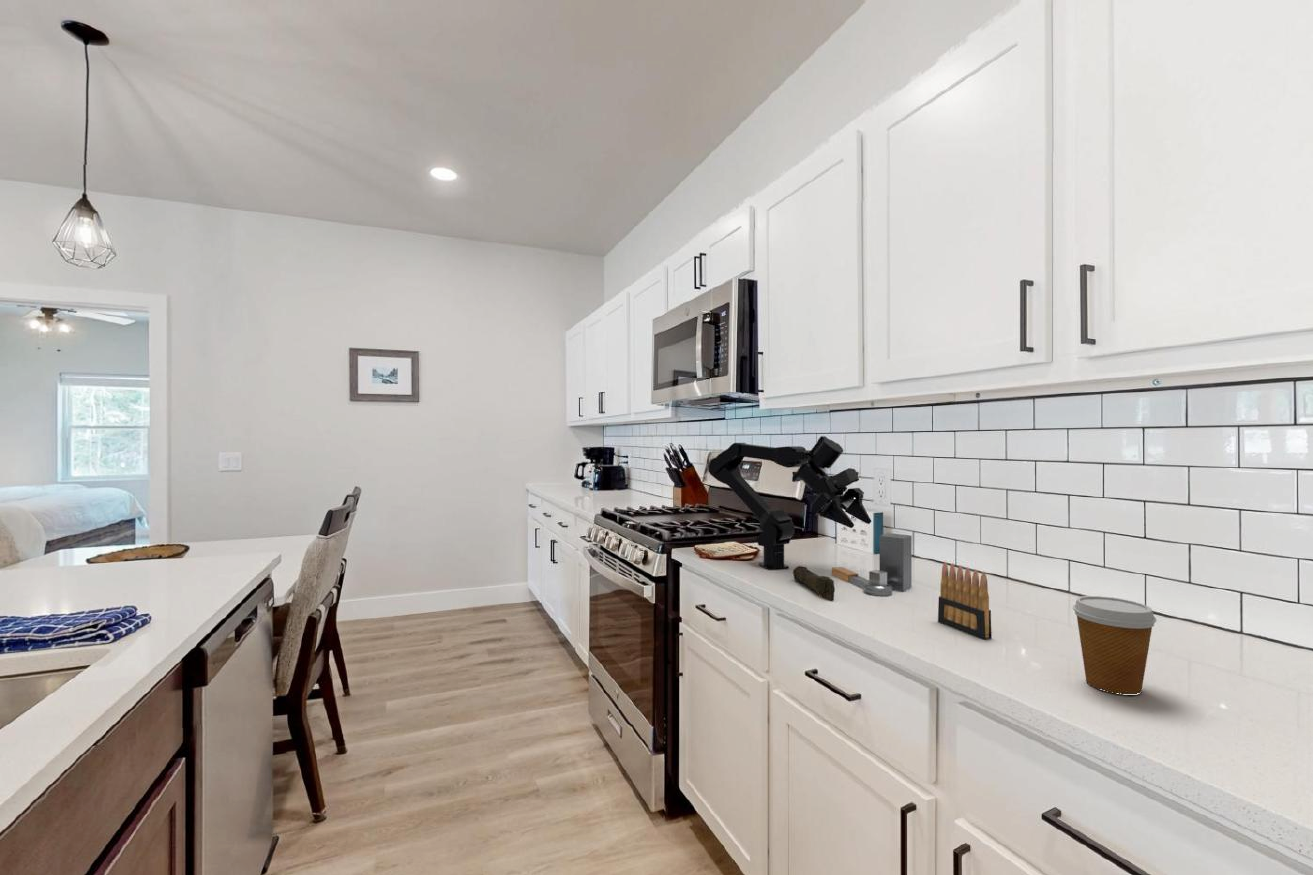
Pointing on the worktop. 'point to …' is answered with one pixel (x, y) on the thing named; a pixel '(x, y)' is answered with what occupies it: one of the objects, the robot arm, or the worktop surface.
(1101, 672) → the disposable coffee cup
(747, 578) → the worktop surface
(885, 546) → the grey metal square prism
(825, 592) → the hand tool
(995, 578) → the worktop surface
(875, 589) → the ratchet
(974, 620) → the ammunition clip
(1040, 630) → the worktop surface
